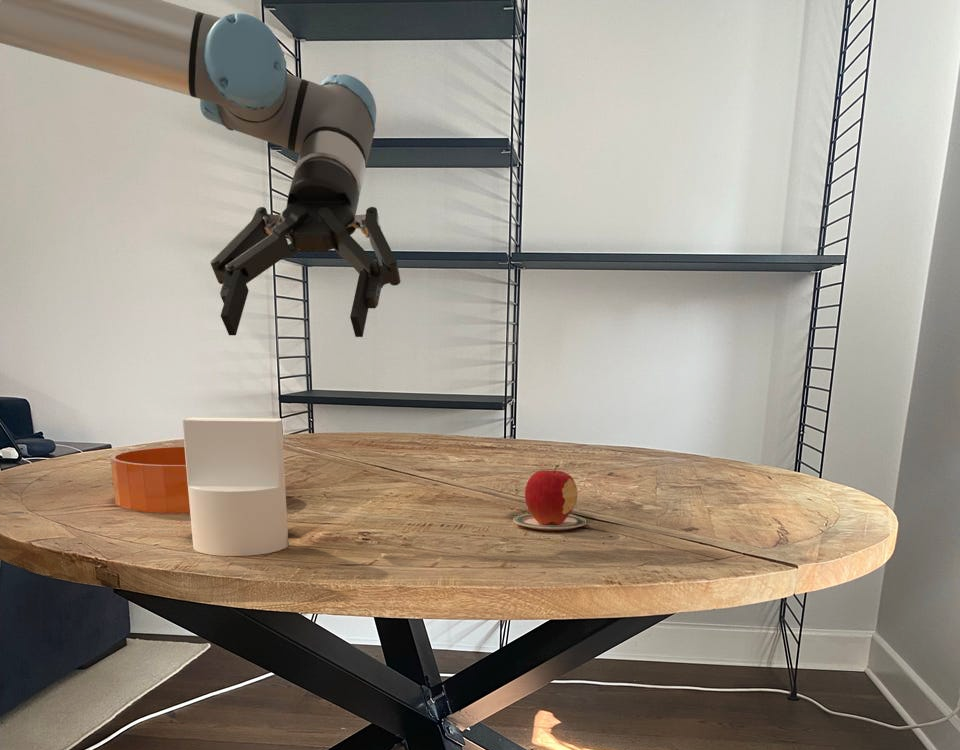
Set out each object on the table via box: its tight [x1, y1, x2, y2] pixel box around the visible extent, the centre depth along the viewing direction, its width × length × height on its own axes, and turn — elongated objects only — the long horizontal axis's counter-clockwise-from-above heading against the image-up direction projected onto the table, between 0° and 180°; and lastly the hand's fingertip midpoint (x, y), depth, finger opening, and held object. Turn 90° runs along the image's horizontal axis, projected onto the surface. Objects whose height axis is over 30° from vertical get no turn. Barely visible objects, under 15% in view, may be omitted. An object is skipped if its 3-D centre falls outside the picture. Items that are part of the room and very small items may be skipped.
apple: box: [513, 464, 587, 532], centre depth 99 cm, size 8×8×6 cm
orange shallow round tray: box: [110, 445, 190, 514], centre depth 107 cm, size 18×18×6 cm
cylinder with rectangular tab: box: [181, 417, 289, 557], centre depth 87 cm, size 9×9×12 cm
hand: (291, 326), depth 93 cm, fingers open, 13 cm apart
